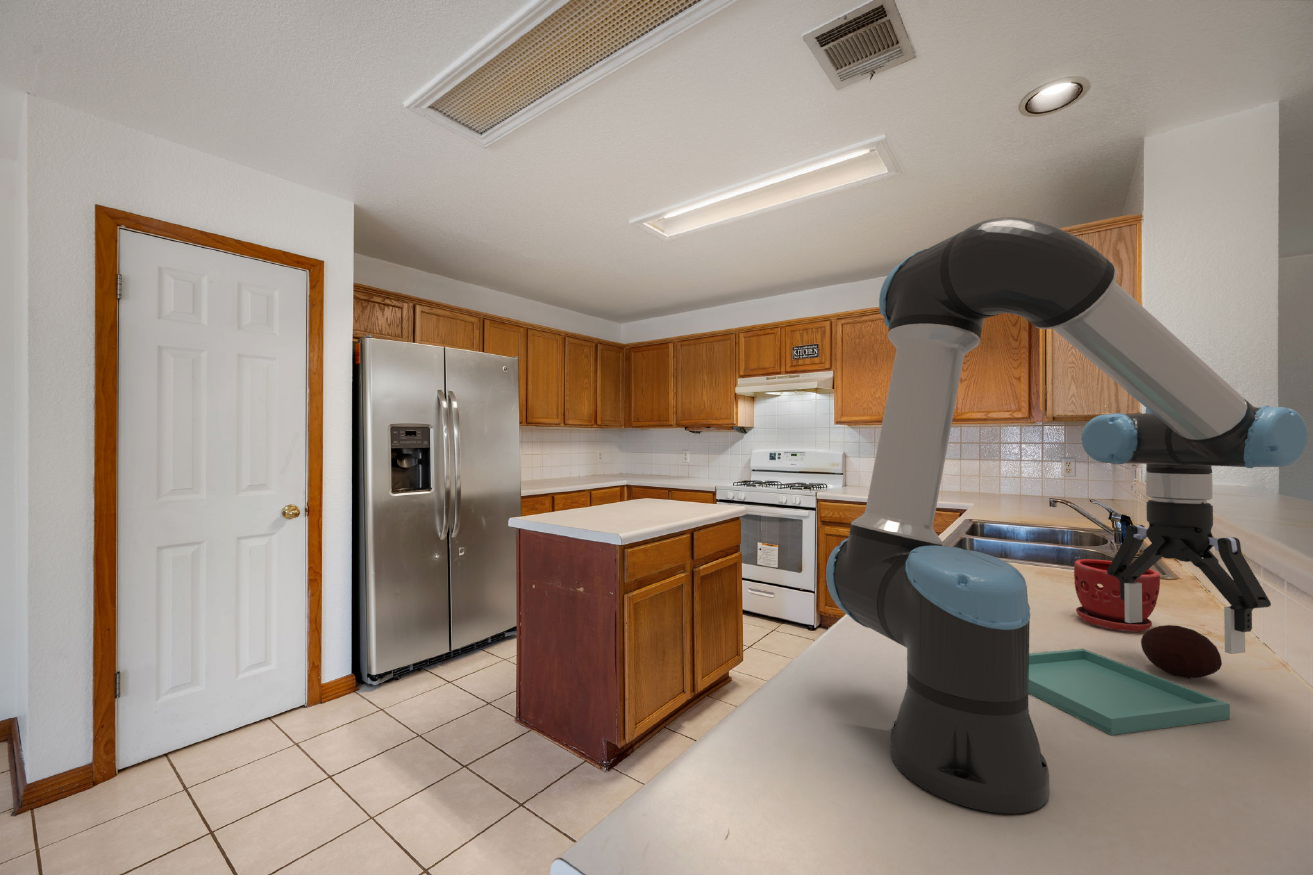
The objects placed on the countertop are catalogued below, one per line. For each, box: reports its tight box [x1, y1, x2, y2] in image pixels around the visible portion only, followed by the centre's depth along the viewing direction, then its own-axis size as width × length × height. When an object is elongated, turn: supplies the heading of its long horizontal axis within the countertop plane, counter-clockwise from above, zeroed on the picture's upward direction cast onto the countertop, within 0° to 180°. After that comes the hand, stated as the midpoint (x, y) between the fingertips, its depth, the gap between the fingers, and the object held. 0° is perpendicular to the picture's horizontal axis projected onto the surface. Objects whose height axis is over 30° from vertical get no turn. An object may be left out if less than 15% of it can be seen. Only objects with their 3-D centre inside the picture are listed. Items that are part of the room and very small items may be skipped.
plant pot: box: [1073, 558, 1161, 633], centre depth 108 cm, size 13×13×12 cm
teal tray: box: [1028, 648, 1231, 736], centre depth 78 cm, size 20×20×2 cm
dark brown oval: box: [1140, 624, 1223, 679], centre depth 84 cm, size 8×9×8 cm
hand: (1180, 636), depth 84 cm, fingers open, 13 cm apart
